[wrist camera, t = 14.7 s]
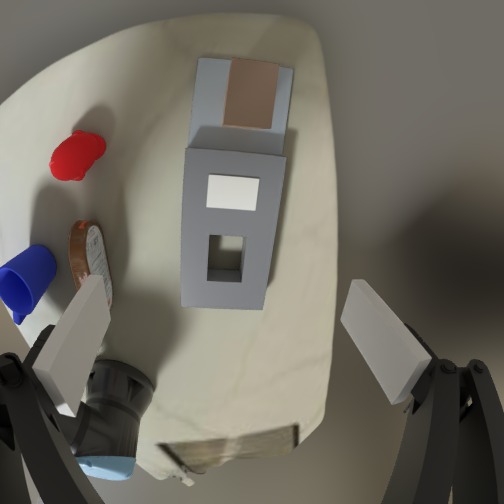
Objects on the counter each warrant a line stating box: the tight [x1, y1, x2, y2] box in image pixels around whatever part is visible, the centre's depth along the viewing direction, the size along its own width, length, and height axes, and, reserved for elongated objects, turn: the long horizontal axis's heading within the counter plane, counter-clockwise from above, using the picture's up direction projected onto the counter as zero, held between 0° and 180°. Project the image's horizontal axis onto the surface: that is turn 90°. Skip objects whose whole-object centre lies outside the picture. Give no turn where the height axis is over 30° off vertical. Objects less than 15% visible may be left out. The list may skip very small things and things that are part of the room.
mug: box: [0, 245, 56, 325], centre depth 33 cm, size 8×12×10 cm
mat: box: [188, 58, 293, 155], centre depth 31 cm, size 12×12×1 cm
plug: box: [222, 58, 280, 129], centre depth 26 cm, size 4×6×12 cm, turn 173°
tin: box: [68, 220, 113, 311], centre depth 35 cm, size 15×3×8 cm, turn 177°
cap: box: [49, 130, 106, 181], centre depth 29 cm, size 8×6×6 cm
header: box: [181, 147, 287, 310], centre depth 37 cm, size 12×22×4 cm, turn 173°
